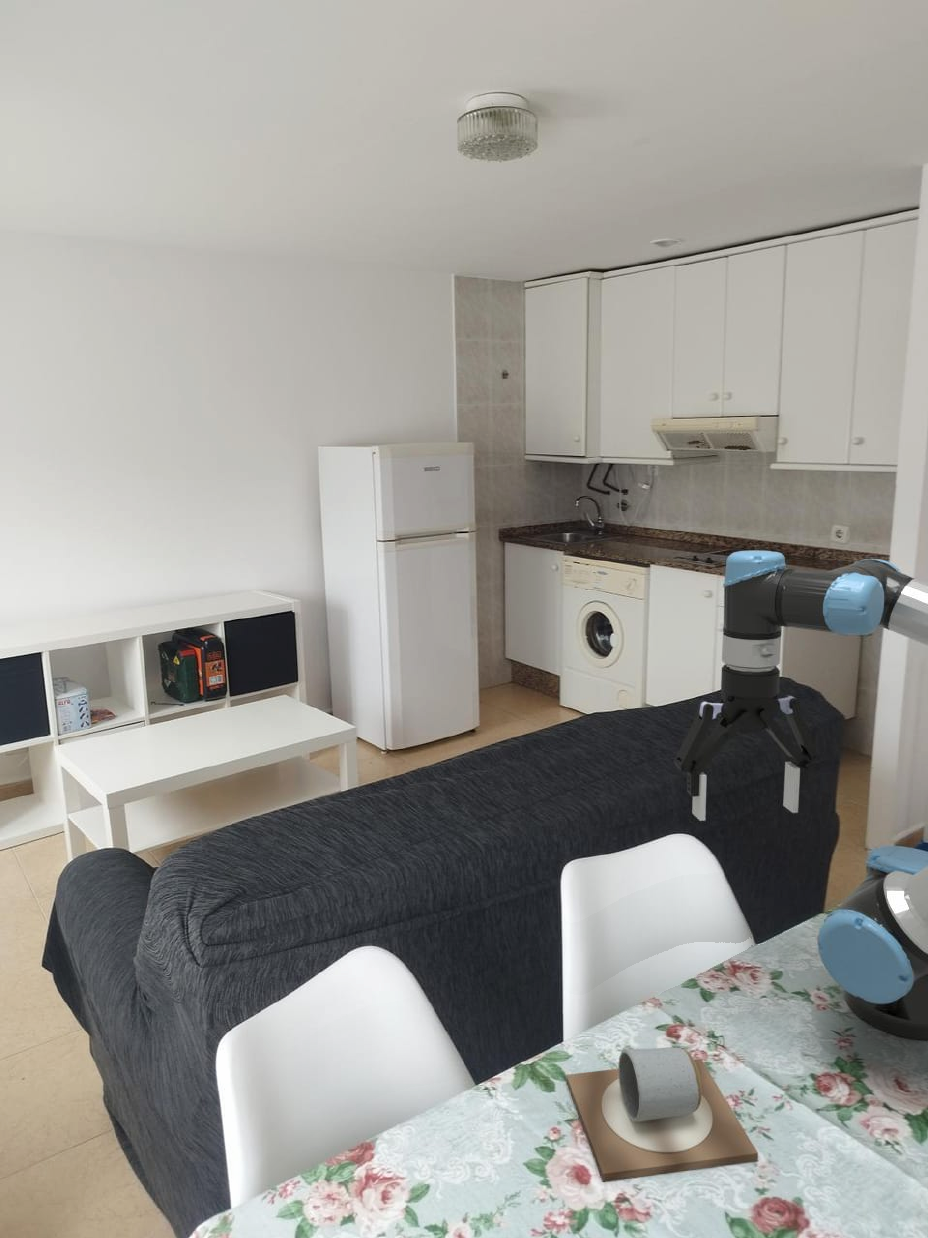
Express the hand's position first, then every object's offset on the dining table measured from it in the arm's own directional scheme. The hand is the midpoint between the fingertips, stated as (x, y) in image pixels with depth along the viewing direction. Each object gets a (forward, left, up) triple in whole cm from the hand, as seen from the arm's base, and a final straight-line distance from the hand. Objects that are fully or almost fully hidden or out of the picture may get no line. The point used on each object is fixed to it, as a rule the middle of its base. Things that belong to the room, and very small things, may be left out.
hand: (744, 813), depth 125 cm
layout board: (+20, +21, -29) cm, 41 cm away
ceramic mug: (+20, +20, -28) cm, 39 cm away
